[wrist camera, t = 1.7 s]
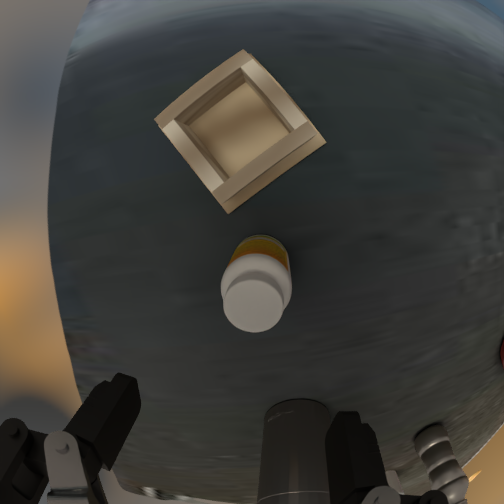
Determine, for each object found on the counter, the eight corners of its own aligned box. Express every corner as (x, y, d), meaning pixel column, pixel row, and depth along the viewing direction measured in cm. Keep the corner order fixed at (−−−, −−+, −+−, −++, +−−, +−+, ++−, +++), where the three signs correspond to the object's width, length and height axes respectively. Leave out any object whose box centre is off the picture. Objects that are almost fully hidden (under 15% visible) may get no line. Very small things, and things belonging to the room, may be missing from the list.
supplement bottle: (226, 242, 27) (200, 280, 18) (280, 226, 26) (282, 259, 17) (243, 291, 28) (228, 347, 19) (294, 278, 27) (302, 331, 18)
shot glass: (375, 472, 38) (381, 497, 32) (403, 466, 38) (409, 490, 31) (365, 484, 40) (369, 507, 34) (391, 479, 40) (396, 501, 33)
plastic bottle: (418, 425, 33) (449, 514, 14) (448, 416, 33) (484, 496, 14) (407, 445, 35) (431, 526, 16) (435, 436, 35) (464, 511, 15)
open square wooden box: (324, 143, 23) (335, 137, 19) (229, 212, 26) (219, 222, 21) (251, 57, 21) (245, 35, 17) (162, 126, 24) (139, 119, 19)
